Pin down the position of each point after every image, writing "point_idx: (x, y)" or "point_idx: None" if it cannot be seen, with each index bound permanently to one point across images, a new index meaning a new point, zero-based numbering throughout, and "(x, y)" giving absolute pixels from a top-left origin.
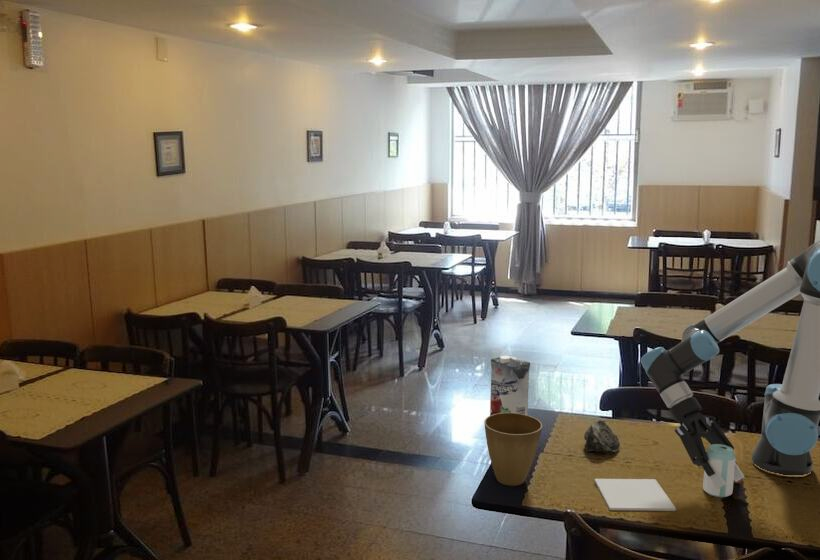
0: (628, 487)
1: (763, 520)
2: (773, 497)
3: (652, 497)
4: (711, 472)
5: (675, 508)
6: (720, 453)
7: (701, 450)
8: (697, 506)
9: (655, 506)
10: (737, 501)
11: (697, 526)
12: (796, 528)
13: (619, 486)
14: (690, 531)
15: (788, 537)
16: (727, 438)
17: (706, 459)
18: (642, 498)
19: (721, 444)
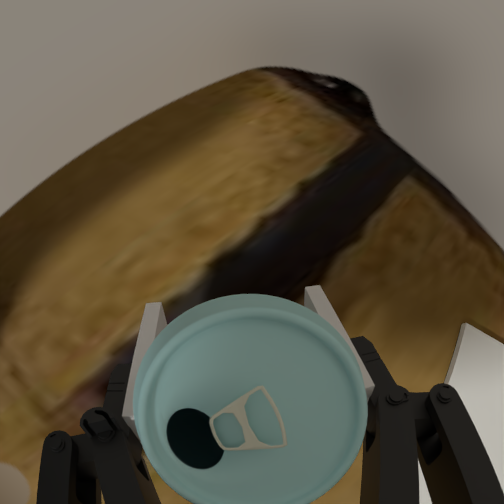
0: None
1: (265, 165)
2: (91, 251)
3: (476, 404)
4: (367, 344)
5: (467, 323)
6: (341, 349)
7: (417, 457)
8: (394, 323)
9: (497, 351)
10: (231, 290)
11: (456, 231)
12: (219, 109)
13: None
14: (477, 223)
15: (280, 97)
16: (37, 502)
17: (400, 392)
18: (495, 404)
19: (169, 483)
